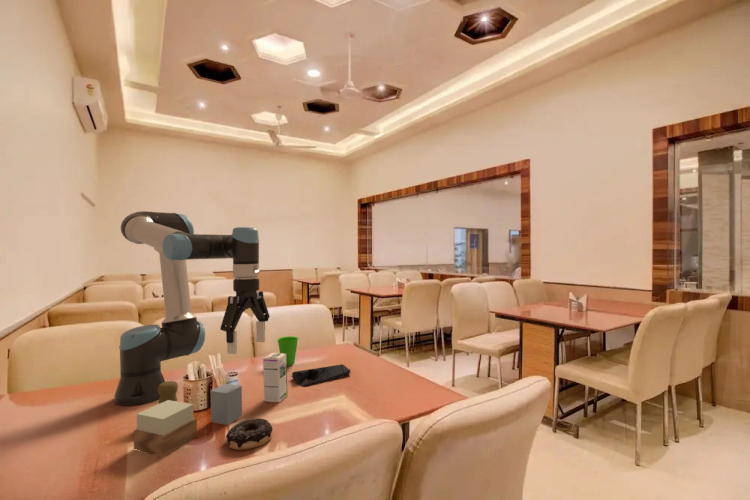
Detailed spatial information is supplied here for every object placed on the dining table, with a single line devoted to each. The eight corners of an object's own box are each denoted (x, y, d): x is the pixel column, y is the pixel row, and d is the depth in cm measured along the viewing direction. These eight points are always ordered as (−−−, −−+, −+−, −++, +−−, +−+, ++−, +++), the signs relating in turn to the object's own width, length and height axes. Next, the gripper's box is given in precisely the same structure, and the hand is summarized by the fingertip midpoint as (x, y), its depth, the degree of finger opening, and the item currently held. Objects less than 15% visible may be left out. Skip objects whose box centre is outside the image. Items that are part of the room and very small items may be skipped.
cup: (276, 362, 163) (276, 337, 163) (297, 360, 165) (297, 335, 165) (277, 368, 154) (277, 342, 154) (300, 366, 157) (299, 340, 157)
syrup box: (280, 402, 120) (279, 357, 120) (263, 401, 121) (262, 357, 121) (287, 395, 125) (287, 352, 125) (271, 394, 126) (270, 352, 126)
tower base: (133, 450, 92) (133, 430, 92) (168, 431, 102) (168, 413, 102) (163, 457, 89) (163, 437, 89) (196, 437, 98) (196, 418, 98)
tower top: (136, 429, 93) (136, 413, 93) (168, 414, 101) (168, 400, 101) (163, 435, 90) (163, 419, 90) (193, 419, 98) (193, 404, 98)
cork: (174, 413, 113) (174, 377, 113) (183, 418, 109) (183, 381, 109) (153, 420, 108) (152, 383, 108) (161, 426, 104) (160, 387, 104)
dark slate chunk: (355, 378, 143) (355, 366, 143) (299, 389, 132) (299, 375, 132) (340, 367, 156) (340, 355, 156) (288, 376, 146) (288, 364, 146)
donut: (281, 439, 97) (281, 423, 97) (238, 458, 88) (238, 441, 88) (258, 425, 104) (258, 411, 104) (217, 442, 96) (217, 427, 96)
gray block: (210, 421, 107) (210, 390, 107) (226, 413, 113) (225, 383, 113) (227, 425, 105) (227, 393, 105) (242, 416, 111) (241, 385, 111)
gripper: (228, 281, 100) (229, 360, 100) (279, 275, 124) (280, 338, 124) (205, 281, 102) (207, 358, 103) (260, 274, 126) (261, 337, 126)
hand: (247, 347), depth 113 cm, fingers open, 13 cm apart
